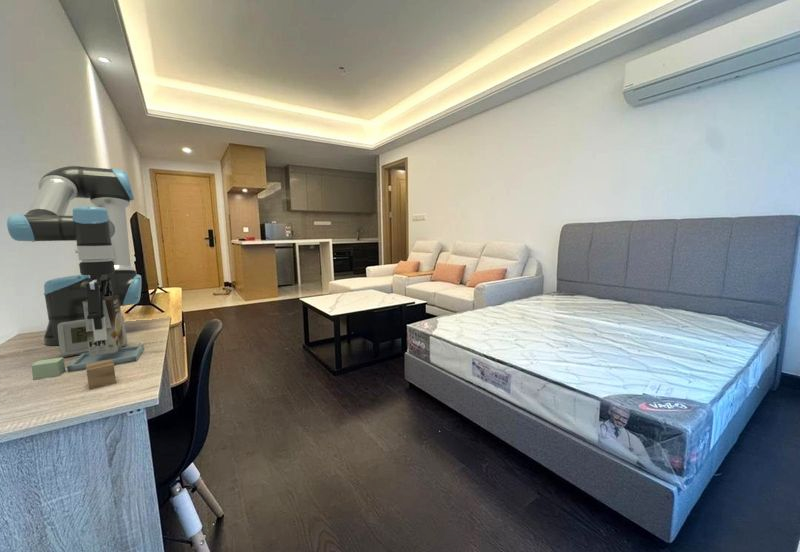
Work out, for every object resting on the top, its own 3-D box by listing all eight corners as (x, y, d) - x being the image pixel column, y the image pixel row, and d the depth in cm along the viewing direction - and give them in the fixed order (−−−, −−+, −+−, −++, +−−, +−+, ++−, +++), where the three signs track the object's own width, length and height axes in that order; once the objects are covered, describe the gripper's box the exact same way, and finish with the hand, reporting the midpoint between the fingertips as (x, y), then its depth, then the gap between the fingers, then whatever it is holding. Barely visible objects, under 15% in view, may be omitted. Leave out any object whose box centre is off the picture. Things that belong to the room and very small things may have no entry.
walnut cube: (88, 383, 83) (86, 364, 82) (114, 377, 86) (112, 359, 86) (89, 389, 79) (86, 370, 79) (116, 383, 83) (113, 364, 82)
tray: (82, 358, 100) (82, 353, 100) (143, 349, 108) (143, 344, 107) (67, 372, 90) (66, 366, 90) (136, 361, 97) (135, 356, 97)
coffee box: (117, 352, 96) (111, 299, 94) (88, 356, 93) (81, 301, 91) (125, 344, 104) (119, 294, 102) (98, 347, 101) (92, 296, 99)
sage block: (40, 374, 89) (38, 360, 88) (65, 370, 91) (63, 357, 91) (33, 380, 85) (31, 365, 85) (59, 376, 88) (57, 361, 87)
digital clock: (57, 359, 100) (52, 325, 98) (67, 351, 107) (62, 319, 106) (125, 349, 108) (121, 318, 107) (130, 342, 116) (126, 312, 115)
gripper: (91, 259, 103) (100, 328, 105) (64, 263, 84) (75, 348, 87) (122, 258, 106) (130, 325, 109) (102, 262, 87) (112, 343, 90)
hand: (106, 335), depth 98 cm, fingers closed on coffee box, 9 cm apart
